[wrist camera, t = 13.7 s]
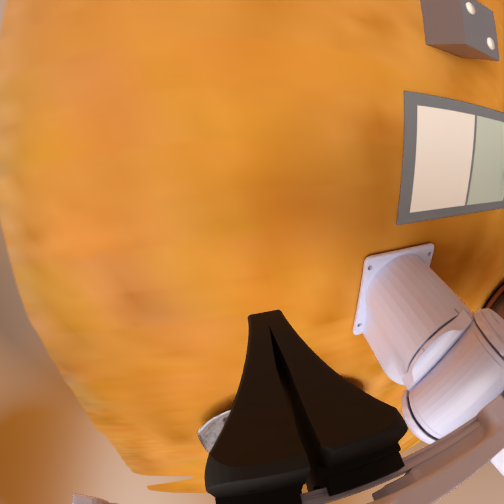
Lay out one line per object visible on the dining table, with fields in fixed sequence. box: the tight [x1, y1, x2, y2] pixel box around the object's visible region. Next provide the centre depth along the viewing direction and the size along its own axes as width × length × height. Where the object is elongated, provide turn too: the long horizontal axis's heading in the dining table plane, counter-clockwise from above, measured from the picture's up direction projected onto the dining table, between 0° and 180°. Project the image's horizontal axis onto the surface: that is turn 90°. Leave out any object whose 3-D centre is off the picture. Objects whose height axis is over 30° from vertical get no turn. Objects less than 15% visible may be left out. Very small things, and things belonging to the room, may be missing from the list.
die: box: [420, 0, 499, 61], centre depth 11 cm, size 4×4×5 cm
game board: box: [396, 91, 504, 225], centre depth 20 cm, size 11×26×1 cm, turn 96°
